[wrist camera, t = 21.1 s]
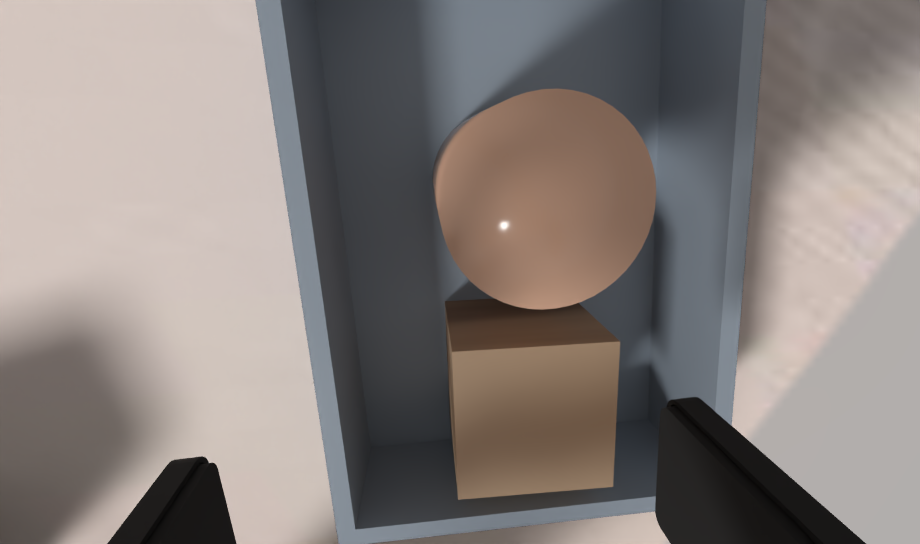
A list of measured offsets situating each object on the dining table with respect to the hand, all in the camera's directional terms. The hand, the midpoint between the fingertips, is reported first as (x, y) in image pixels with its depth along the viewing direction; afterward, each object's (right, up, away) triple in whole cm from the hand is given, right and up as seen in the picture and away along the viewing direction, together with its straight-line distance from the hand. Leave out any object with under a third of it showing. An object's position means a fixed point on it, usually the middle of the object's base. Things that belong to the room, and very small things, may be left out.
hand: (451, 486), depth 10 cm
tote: (+2, +6, +9) cm, 11 cm away
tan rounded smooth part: (+2, +8, +8) cm, 11 cm away
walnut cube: (+2, +1, +9) cm, 10 cm away
